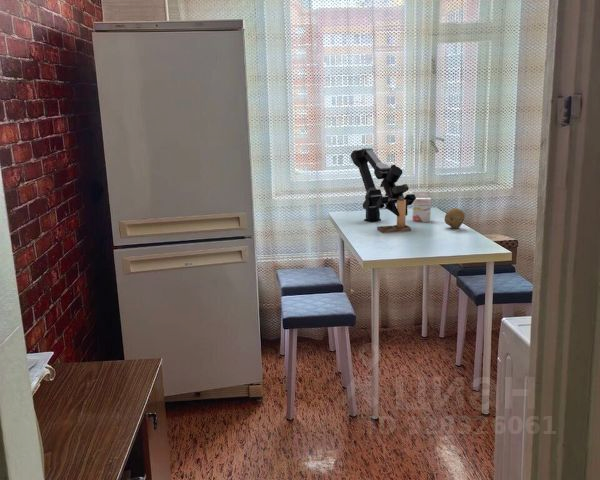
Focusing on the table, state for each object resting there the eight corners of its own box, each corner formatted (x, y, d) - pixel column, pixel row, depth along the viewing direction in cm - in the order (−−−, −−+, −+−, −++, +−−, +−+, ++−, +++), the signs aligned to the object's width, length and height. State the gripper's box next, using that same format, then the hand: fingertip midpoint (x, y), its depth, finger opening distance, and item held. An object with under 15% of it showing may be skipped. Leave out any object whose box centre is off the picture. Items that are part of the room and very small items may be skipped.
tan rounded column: (394, 229, 292) (395, 196, 289) (399, 228, 295) (400, 195, 291) (402, 231, 290) (402, 197, 286) (407, 229, 292) (407, 195, 289)
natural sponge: (449, 231, 288) (450, 210, 286) (440, 227, 297) (441, 207, 295) (467, 230, 291) (468, 209, 288) (457, 226, 299) (458, 205, 297)
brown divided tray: (382, 234, 287) (382, 229, 286) (377, 230, 294) (377, 226, 293) (410, 231, 290) (411, 227, 290) (405, 228, 297) (405, 224, 296)
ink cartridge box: (413, 222, 311) (413, 192, 308) (412, 220, 316) (412, 191, 312) (430, 222, 310) (431, 192, 307) (429, 220, 315) (430, 191, 311)
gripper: (379, 179, 287) (391, 207, 280) (414, 176, 294) (427, 203, 287) (371, 194, 296) (382, 221, 289) (405, 191, 303) (417, 217, 295)
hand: (402, 215), depth 290 cm, fingers closed on tan rounded column, 4 cm apart
